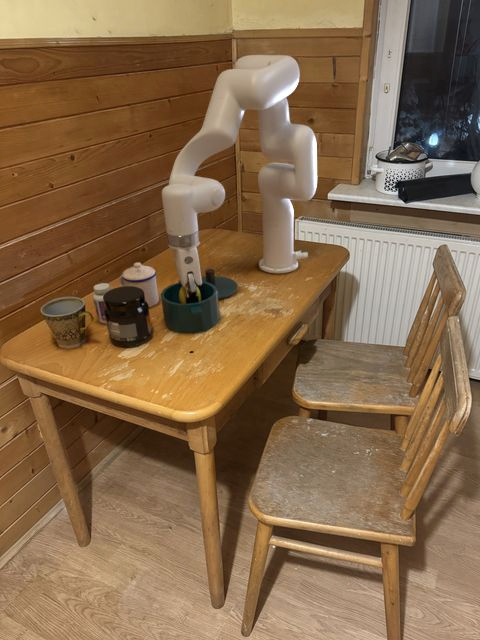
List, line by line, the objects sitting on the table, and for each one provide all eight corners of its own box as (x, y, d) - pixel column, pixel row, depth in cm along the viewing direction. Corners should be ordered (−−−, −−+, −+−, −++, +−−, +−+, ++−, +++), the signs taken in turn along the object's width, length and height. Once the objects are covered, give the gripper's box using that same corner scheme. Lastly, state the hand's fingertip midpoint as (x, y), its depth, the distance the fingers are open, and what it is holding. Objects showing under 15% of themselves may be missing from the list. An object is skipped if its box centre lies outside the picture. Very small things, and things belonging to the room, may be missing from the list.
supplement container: (153, 325, 131) (146, 282, 125) (153, 346, 122) (145, 301, 116) (111, 329, 130) (102, 286, 123) (108, 351, 121) (98, 306, 114)
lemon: (181, 307, 134) (178, 279, 130) (202, 305, 134) (199, 277, 130) (180, 316, 129) (176, 288, 125) (202, 315, 130) (199, 286, 125)
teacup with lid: (166, 298, 144) (161, 260, 138) (146, 312, 137) (139, 272, 131) (133, 291, 149) (127, 253, 143) (112, 303, 142) (104, 265, 136)
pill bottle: (122, 316, 136) (116, 283, 131) (111, 325, 132) (104, 291, 126) (105, 313, 137) (98, 280, 132) (94, 322, 133) (86, 289, 128)
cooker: (210, 300, 143) (208, 273, 139) (227, 332, 127) (225, 304, 123) (160, 308, 139) (156, 281, 135) (171, 342, 123) (166, 313, 119)
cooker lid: (230, 276, 156) (228, 257, 153) (243, 297, 144) (242, 277, 141) (181, 284, 152) (179, 264, 149) (190, 305, 140) (188, 285, 137)
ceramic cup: (42, 348, 122) (31, 312, 117) (68, 329, 130) (59, 294, 125) (86, 358, 119) (77, 320, 113) (111, 337, 126) (103, 301, 121)
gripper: (206, 248, 115) (212, 318, 125) (192, 225, 129) (198, 289, 139) (173, 252, 113) (182, 323, 123) (162, 229, 127) (171, 294, 137)
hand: (191, 304), depth 131 cm, fingers open, 5 cm apart
